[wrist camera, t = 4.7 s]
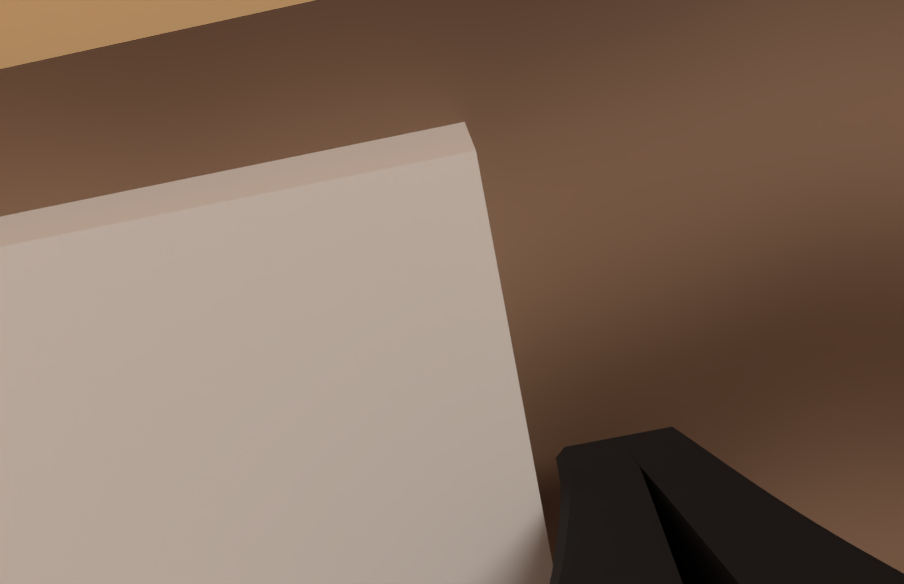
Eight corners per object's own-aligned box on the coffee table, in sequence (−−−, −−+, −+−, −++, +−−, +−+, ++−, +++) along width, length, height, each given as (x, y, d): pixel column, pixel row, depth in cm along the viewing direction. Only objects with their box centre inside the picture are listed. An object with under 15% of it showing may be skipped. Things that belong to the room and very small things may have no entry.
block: (581, 740, 11) (612, 885, 9) (180, 809, 11) (131, 967, 9) (464, 122, 8) (476, 150, 6) (-74, 231, 8) (-221, 292, 6)
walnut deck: (953, 545, 15) (1128, 718, 11) (76, 708, 16) (-35, 924, 12) (965, -125, 11) (1242, -203, 7) (-205, 129, 12) (-502, 178, 8)
